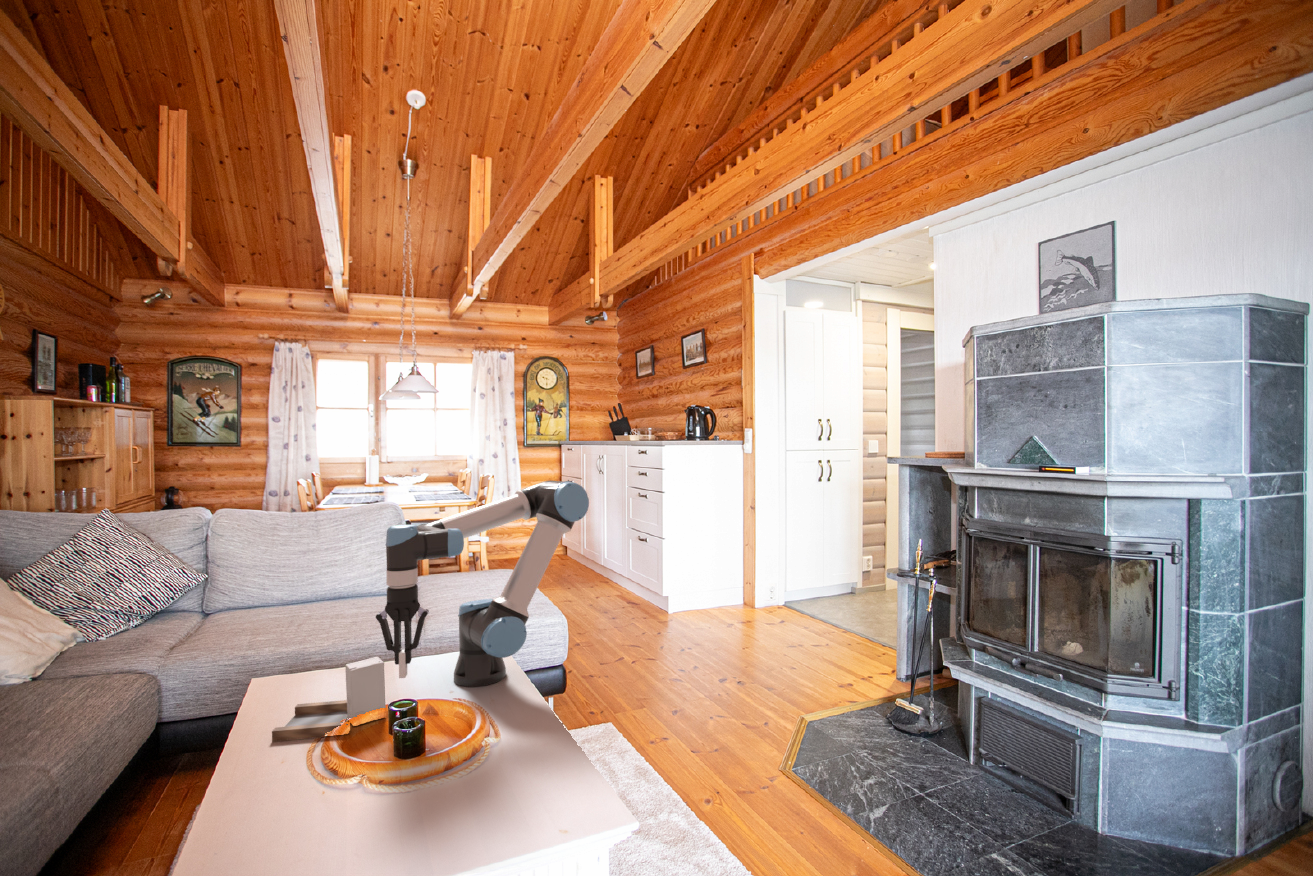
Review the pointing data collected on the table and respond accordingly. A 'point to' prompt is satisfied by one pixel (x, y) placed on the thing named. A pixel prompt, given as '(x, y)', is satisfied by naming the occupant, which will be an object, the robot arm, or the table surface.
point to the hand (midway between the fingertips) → (403, 676)
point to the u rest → (312, 721)
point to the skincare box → (365, 686)
